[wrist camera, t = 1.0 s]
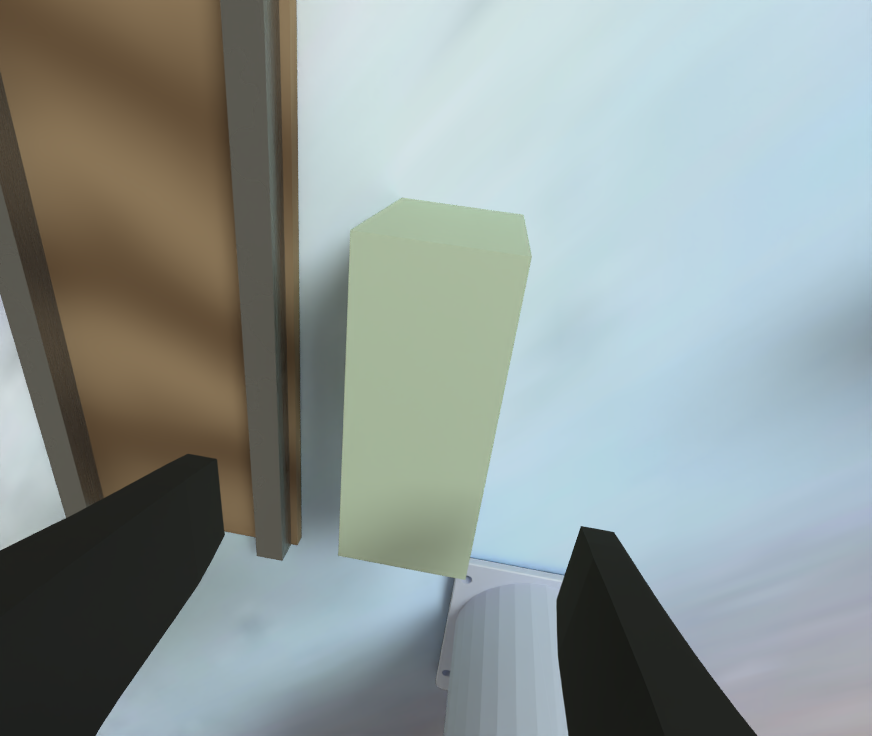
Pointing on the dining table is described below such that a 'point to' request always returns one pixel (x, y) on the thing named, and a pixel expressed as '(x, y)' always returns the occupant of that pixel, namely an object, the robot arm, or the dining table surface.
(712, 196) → the dining table surface
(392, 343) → the pale green block
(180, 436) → the floor track
